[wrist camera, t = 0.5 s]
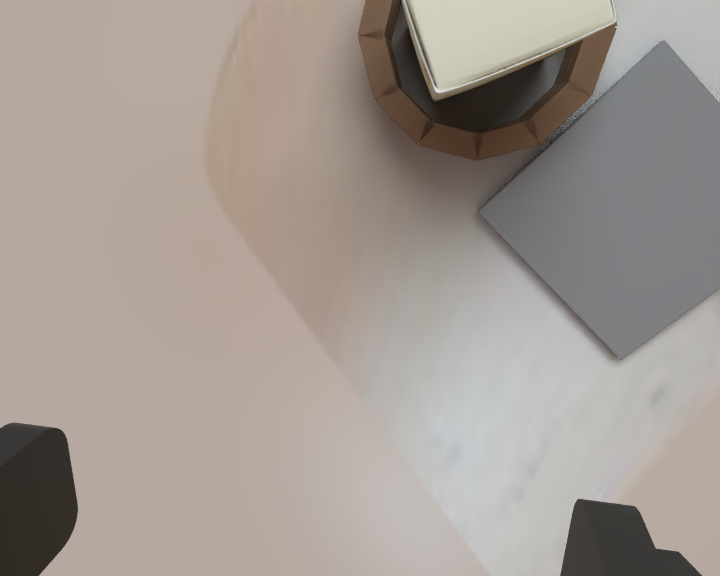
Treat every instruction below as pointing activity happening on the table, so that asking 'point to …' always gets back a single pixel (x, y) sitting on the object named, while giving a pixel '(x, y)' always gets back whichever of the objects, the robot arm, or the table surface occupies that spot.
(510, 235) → the mat
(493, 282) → the table surface
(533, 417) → the table surface
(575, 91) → the holder ring
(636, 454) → the table surface
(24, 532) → the robot arm
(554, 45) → the skincare box
